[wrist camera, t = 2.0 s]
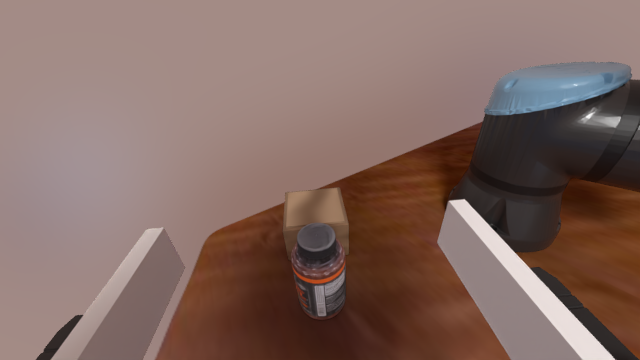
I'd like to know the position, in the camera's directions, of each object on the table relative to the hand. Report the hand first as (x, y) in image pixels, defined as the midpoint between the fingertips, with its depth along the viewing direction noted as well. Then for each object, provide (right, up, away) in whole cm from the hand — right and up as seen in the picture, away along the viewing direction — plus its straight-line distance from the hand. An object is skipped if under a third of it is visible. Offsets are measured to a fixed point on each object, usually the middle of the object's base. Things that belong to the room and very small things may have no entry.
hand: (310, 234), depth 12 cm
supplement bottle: (+1, -13, +20) cm, 23 cm away
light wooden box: (0, -6, +29) cm, 30 cm away
